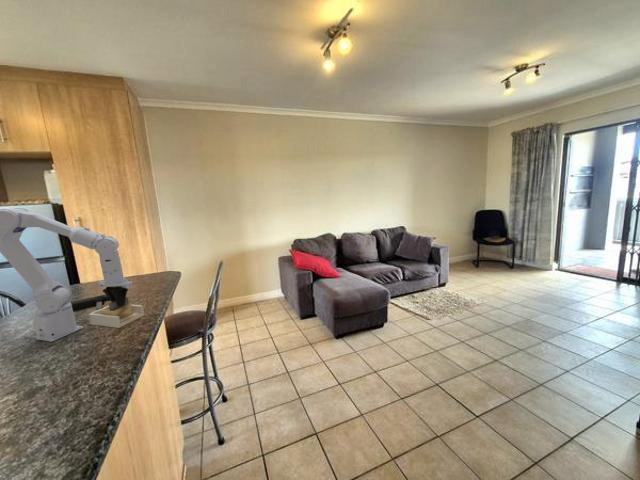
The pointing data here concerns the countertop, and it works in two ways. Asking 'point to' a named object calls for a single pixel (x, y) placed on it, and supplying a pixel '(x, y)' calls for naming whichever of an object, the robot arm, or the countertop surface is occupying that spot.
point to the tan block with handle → (118, 309)
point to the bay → (115, 317)
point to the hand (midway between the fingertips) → (119, 305)
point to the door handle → (89, 303)
